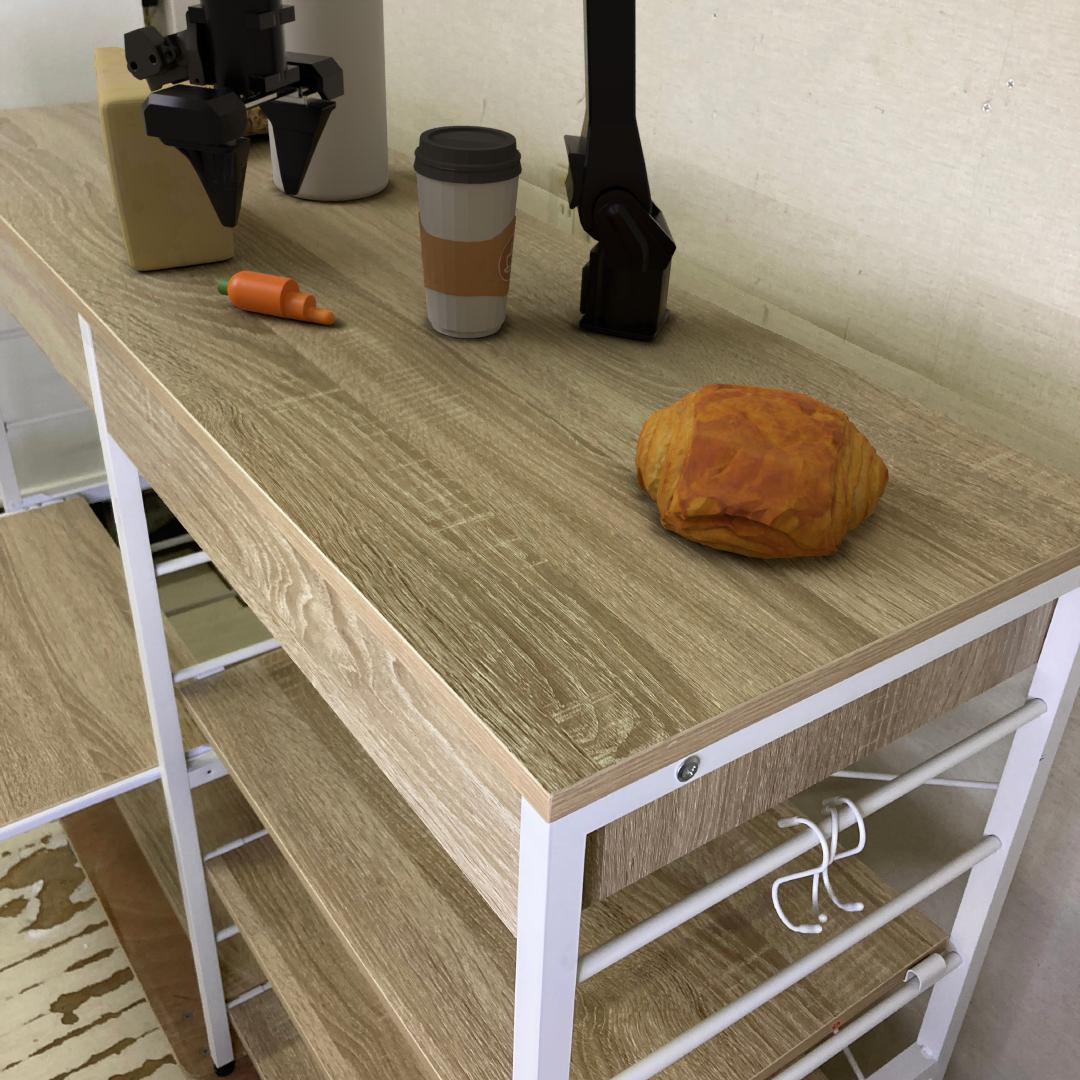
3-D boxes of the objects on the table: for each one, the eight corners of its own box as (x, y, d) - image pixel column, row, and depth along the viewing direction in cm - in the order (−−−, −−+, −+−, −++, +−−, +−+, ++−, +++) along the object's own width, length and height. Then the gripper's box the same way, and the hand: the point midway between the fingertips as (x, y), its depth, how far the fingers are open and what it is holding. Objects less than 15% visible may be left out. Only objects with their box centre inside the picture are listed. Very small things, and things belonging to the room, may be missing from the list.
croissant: (667, 458, 78) (665, 351, 74) (894, 482, 72) (905, 367, 68) (597, 557, 67) (591, 437, 63) (860, 595, 61) (871, 466, 57)
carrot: (343, 320, 91) (343, 282, 89) (324, 331, 88) (323, 292, 86) (234, 299, 93) (231, 262, 92) (212, 309, 91) (209, 271, 89)
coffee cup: (504, 350, 87) (509, 157, 78) (403, 337, 88) (398, 145, 80) (526, 311, 94) (533, 129, 85) (432, 299, 95) (430, 119, 86)
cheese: (80, 203, 112) (51, 44, 103) (177, 193, 116) (156, 40, 108) (129, 276, 96) (98, 96, 88) (238, 261, 100) (219, 88, 92)
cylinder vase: (269, 202, 115) (244, -68, 101) (278, 169, 125) (256, -81, 111) (389, 203, 116) (381, -63, 102) (388, 170, 127) (380, -76, 113)
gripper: (216, -34, 87) (237, 166, 96) (56, -5, 72) (99, 229, 81) (341, -21, 84) (352, 184, 93) (202, 12, 69) (230, 252, 78)
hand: (261, 209), depth 86 cm, fingers open, 9 cm apart
